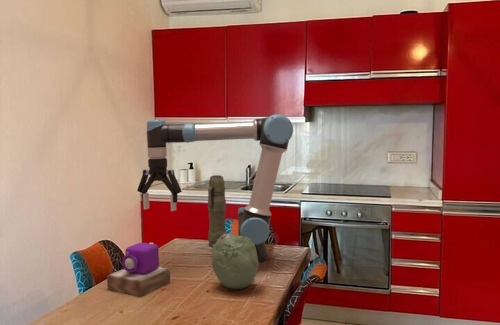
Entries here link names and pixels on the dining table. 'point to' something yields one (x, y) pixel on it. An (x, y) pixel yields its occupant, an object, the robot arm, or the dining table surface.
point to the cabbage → (234, 260)
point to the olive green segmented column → (216, 208)
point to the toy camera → (141, 258)
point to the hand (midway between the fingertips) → (159, 209)
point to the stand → (138, 281)
